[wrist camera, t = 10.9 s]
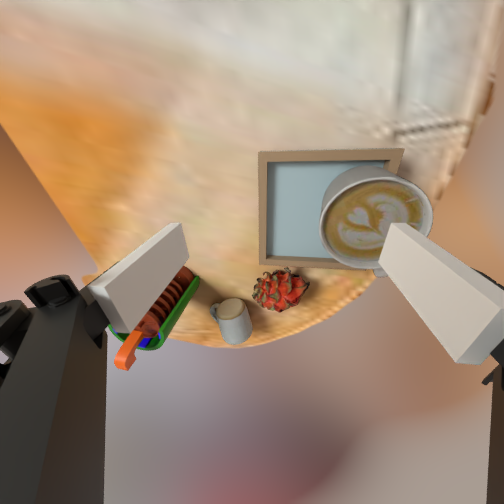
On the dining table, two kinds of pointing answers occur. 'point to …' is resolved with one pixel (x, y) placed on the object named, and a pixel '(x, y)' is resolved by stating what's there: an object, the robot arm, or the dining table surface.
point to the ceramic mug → (232, 320)
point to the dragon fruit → (279, 290)
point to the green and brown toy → (157, 319)
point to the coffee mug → (369, 214)
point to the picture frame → (304, 200)
